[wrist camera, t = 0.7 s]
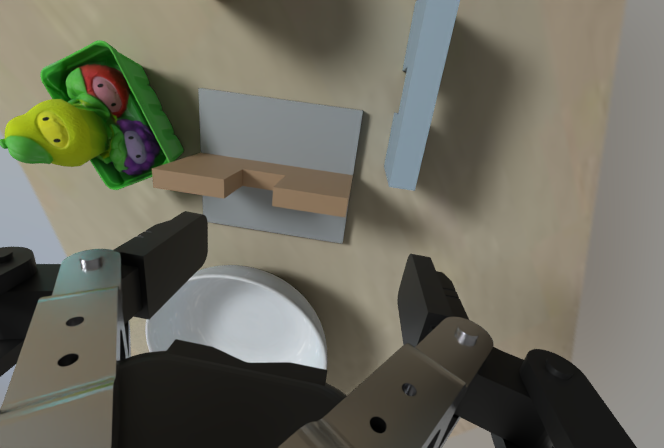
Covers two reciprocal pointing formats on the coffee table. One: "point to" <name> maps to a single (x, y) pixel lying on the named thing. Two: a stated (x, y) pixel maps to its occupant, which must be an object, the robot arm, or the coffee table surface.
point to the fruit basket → (96, 119)
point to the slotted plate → (419, 89)
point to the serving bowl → (241, 318)
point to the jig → (270, 164)
